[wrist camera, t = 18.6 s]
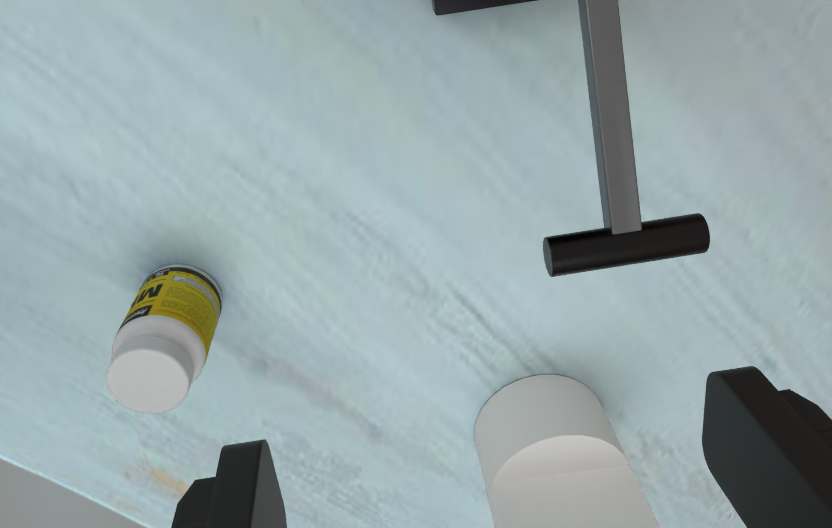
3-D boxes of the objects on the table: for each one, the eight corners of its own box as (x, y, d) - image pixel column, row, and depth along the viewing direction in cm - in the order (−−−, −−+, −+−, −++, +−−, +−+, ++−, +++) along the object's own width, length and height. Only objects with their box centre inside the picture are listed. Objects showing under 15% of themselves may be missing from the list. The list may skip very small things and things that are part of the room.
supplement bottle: (165, 247, 42) (125, 325, 35) (238, 287, 44) (215, 369, 36) (126, 308, 44) (81, 394, 36) (198, 344, 45) (169, 434, 38)
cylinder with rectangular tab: (605, 366, 49) (677, 501, 38) (601, 469, 53) (666, 617, 42) (470, 383, 48) (504, 524, 38) (477, 485, 52) (510, 638, 42)
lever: (689, 248, 28) (718, 257, 25) (543, 271, 28) (557, 282, 25) (651, -152, 26) (678, -182, 23) (492, -127, 25) (502, -156, 23)
